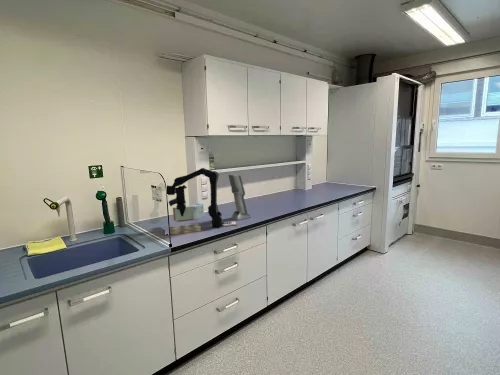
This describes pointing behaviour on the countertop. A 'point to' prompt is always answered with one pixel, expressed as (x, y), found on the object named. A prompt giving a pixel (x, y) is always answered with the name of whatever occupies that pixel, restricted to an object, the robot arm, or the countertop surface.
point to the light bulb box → (196, 211)
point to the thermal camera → (238, 197)
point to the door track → (185, 228)
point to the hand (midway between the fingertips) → (182, 215)
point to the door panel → (178, 215)
